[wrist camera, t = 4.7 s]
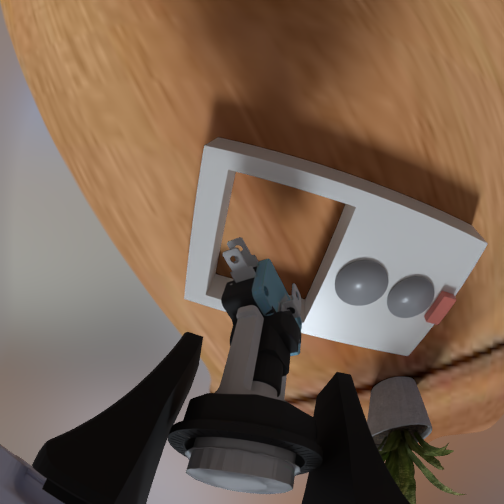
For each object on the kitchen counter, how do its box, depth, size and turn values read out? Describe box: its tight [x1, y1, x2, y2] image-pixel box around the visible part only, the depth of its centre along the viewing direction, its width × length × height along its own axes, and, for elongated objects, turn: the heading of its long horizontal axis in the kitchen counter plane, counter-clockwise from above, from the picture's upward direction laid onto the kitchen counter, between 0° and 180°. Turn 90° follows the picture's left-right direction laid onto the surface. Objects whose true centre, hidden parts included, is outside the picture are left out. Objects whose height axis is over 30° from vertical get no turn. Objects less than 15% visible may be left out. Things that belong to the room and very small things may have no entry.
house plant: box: [367, 377, 464, 504], centre depth 20 cm, size 14×14×16 cm
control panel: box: [184, 137, 488, 356], centre depth 18 cm, size 18×11×3 cm, turn 77°
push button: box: [168, 237, 323, 494], centre depth 11 cm, size 7×5×10 cm
